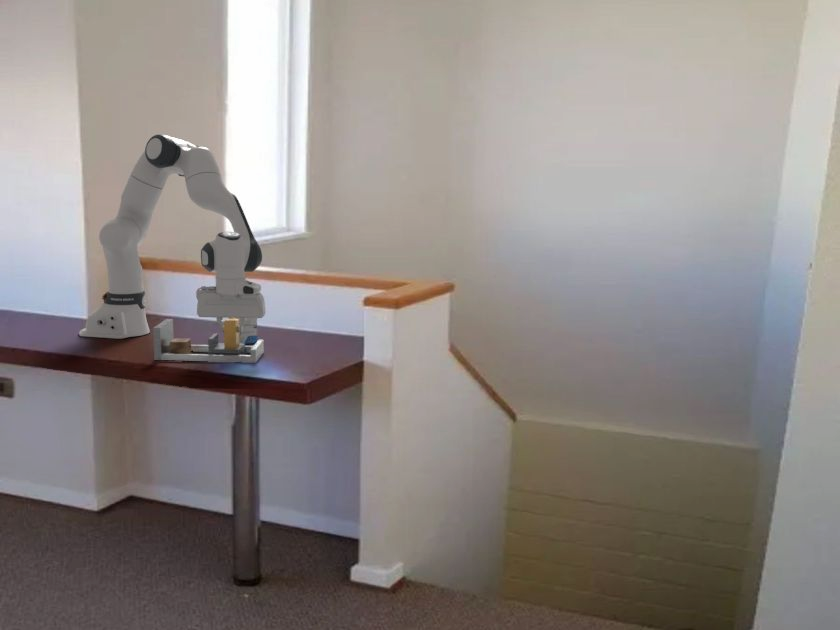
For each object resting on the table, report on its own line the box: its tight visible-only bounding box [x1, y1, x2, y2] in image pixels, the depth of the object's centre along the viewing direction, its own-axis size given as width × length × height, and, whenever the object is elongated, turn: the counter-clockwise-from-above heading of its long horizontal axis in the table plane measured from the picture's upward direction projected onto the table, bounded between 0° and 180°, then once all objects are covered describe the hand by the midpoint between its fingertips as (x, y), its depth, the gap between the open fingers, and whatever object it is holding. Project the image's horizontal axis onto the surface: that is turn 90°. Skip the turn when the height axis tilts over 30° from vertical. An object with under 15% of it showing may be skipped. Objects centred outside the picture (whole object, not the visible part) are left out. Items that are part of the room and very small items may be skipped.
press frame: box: [152, 318, 265, 364], centre depth 270 cm, size 30×14×10 cm, turn 90°
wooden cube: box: [170, 337, 192, 354], centre depth 271 cm, size 5×5×5 cm
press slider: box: [207, 318, 246, 355], centre depth 270 cm, size 9×9×11 cm
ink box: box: [227, 318, 258, 345], centre depth 290 cm, size 9×5×12 cm, turn 112°
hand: (231, 331), depth 270 cm, fingers closed on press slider, 3 cm apart
